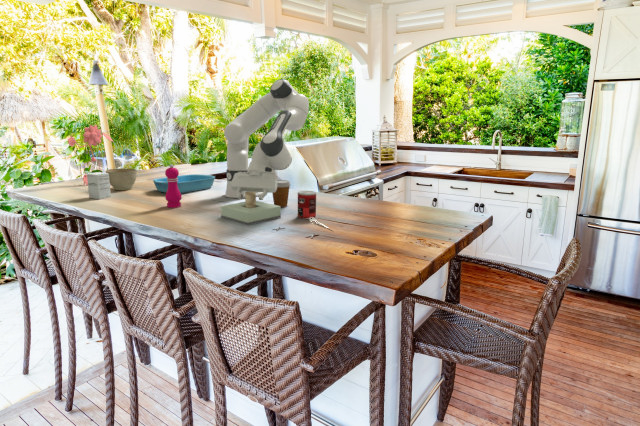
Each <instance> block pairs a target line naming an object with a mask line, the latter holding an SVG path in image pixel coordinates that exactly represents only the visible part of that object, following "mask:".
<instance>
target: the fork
mask: <svg viewBox="0 0 640 426" xmlns="http://www.w3.org/2000/svg"><path fill="white" fill-rule="evenodd" d="M308 220H309V222H310V223H311V222H312V221H315V222H316V221H317V219H316V217H315V218H314V217H313V218H312V219H311V217H310V218H309V219H308ZM317 222H318V223H317ZM317 222H316V224H315V225H318V224H319V225H318V226H320V225H322V226H324V227H326V228H329V227H328V226H326V225H325V224H323V223H322V222H319V221H317ZM322 226H321V227H322ZM324 227H323V228H324ZM326 228H325V229H326Z"/></svg>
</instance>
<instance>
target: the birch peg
mask: <svg viewBox="0 0 640 426" xmlns="http://www.w3.org/2000/svg"><path fill="white" fill-rule="evenodd" d="M256 197H257V196H256V192H253V191H248V192H245V198H244V202H245V207H246V208H255V207H256V201H257V198H256Z"/></svg>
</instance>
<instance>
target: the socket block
mask: <svg viewBox="0 0 640 426" xmlns="http://www.w3.org/2000/svg"><path fill="white" fill-rule="evenodd" d="M281 209H282V207H281V206H277V205H274V203H273V204H272V203H268V202H265V201H261V200H259V201H258V200H256V207H255V208H246V207H245V201H242V202H236V203H229V204H225V205H220V218H221V219H226V220H229V221H232V222H236V223H238V224H239V223H240V224H243V225H246V226H251V225H254V224H259V223H264V222H267V221H273V220H276V219H279V218H280V219H281V218H282V217H281V215H282V214H281V213H282V212H281Z"/></svg>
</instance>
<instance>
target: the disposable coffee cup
mask: <svg viewBox="0 0 640 426" xmlns="http://www.w3.org/2000/svg"><path fill="white" fill-rule="evenodd" d="M277 183H278V184H277V190H276V192H275V193H272V198H273V205H277V206H281V208H286V207H288V201H289V193H290V186H291V182H290V180H286V179H285V180H284V179H277ZM285 206H286V207H285Z"/></svg>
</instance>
